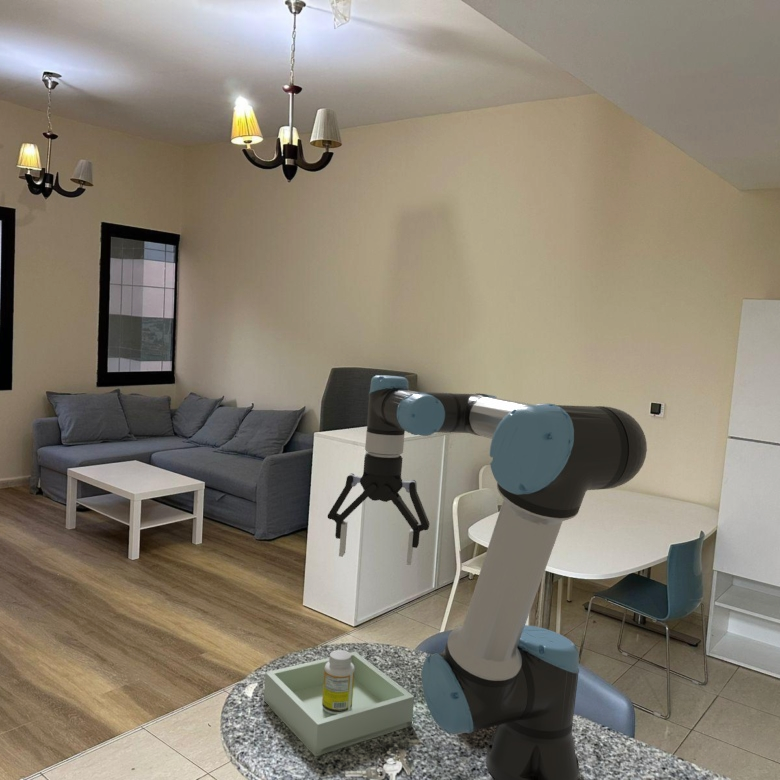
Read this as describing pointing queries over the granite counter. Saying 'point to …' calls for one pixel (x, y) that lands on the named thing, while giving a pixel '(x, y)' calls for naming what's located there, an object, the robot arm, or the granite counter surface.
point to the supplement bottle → (338, 683)
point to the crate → (332, 732)
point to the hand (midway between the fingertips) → (375, 558)
